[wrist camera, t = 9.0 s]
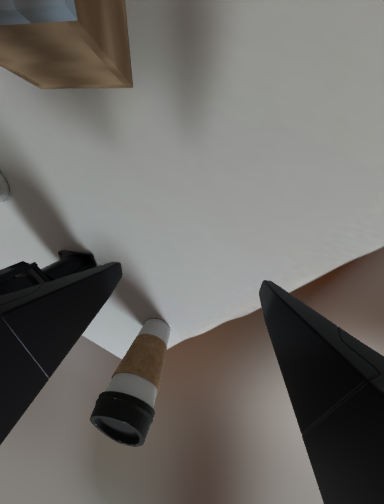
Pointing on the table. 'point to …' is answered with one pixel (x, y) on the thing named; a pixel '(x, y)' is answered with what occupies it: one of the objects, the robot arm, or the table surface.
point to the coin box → (66, 43)
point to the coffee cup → (134, 388)
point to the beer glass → (3, 189)
